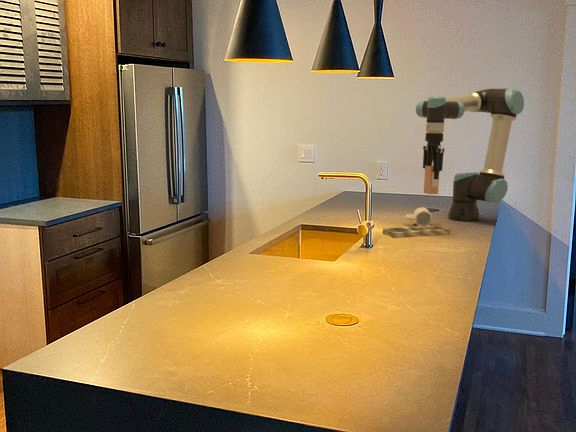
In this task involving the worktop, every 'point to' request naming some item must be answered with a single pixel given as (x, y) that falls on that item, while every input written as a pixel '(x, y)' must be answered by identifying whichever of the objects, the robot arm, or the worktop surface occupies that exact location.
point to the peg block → (429, 181)
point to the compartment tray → (416, 231)
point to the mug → (421, 217)
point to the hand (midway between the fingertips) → (431, 185)
